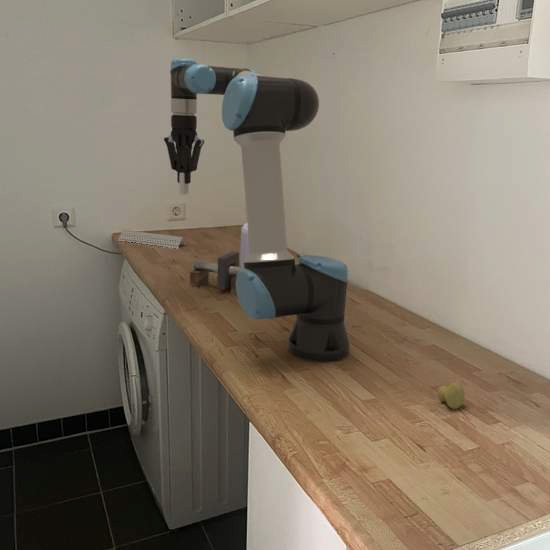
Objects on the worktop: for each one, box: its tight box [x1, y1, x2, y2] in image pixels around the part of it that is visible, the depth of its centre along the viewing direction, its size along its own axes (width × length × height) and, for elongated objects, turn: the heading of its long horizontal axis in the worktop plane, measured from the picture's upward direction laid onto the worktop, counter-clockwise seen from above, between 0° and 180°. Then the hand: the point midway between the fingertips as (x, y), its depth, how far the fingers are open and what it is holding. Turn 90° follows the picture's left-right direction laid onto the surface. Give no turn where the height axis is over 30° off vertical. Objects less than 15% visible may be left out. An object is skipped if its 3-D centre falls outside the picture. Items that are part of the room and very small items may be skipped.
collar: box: [217, 251, 240, 290], centre depth 185 cm, size 2×10×10 cm, turn 157°
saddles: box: [189, 269, 237, 296], centre depth 187 cm, size 18×7×5 cm, turn 67°
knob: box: [437, 382, 465, 410], centre depth 117 cm, size 5×5×5 cm
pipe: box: [192, 260, 244, 276], centre depth 186 cm, size 18×3×3 cm, turn 67°
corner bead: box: [117, 229, 187, 250], centre depth 244 cm, size 29×9×5 cm, turn 71°
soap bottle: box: [239, 222, 250, 268], centre depth 209 cm, size 9×7×23 cm
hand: (184, 193), depth 177 cm, fingers closed
